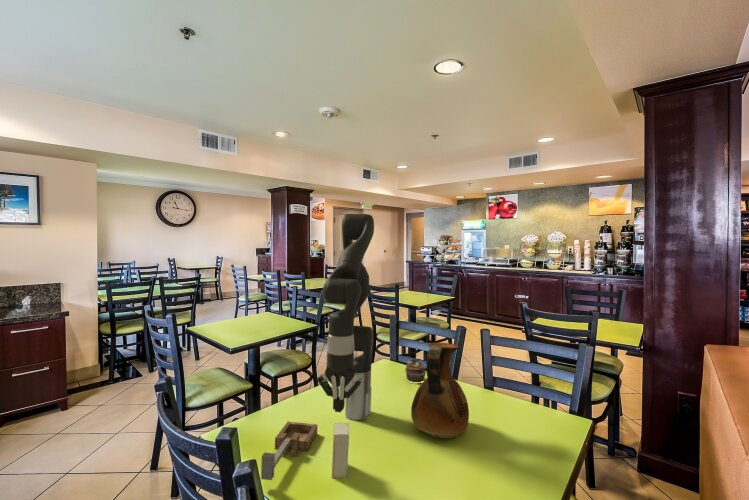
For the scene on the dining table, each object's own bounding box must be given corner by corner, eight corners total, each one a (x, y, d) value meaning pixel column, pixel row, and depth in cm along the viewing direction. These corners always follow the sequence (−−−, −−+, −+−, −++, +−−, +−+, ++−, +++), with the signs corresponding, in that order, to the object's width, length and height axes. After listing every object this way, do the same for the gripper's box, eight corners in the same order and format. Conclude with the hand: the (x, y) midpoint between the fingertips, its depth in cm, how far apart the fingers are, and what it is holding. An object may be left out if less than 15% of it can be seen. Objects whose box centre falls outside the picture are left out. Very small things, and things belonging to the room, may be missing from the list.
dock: (317, 433, 117) (317, 418, 117) (303, 457, 104) (304, 440, 104) (287, 430, 119) (287, 415, 119) (270, 454, 105) (271, 436, 105)
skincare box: (332, 464, 102) (333, 422, 101) (347, 463, 102) (349, 422, 102) (331, 478, 95) (332, 434, 95) (347, 478, 96) (349, 434, 95)
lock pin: (292, 447, 105) (292, 427, 105) (271, 480, 90) (272, 457, 90) (283, 446, 105) (284, 426, 105) (261, 479, 90) (261, 456, 90)
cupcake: (404, 383, 162) (405, 362, 162) (406, 375, 172) (406, 355, 172) (425, 385, 161) (426, 364, 161) (425, 377, 170) (426, 357, 170)
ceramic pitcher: (472, 423, 128) (475, 341, 127) (461, 452, 109) (465, 357, 109) (420, 411, 136) (423, 334, 135) (402, 436, 118) (405, 347, 117)
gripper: (313, 351, 95) (311, 414, 96) (361, 355, 93) (359, 420, 94) (321, 344, 103) (320, 402, 103) (366, 347, 101) (364, 407, 101)
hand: (338, 410), depth 98 cm, fingers closed
